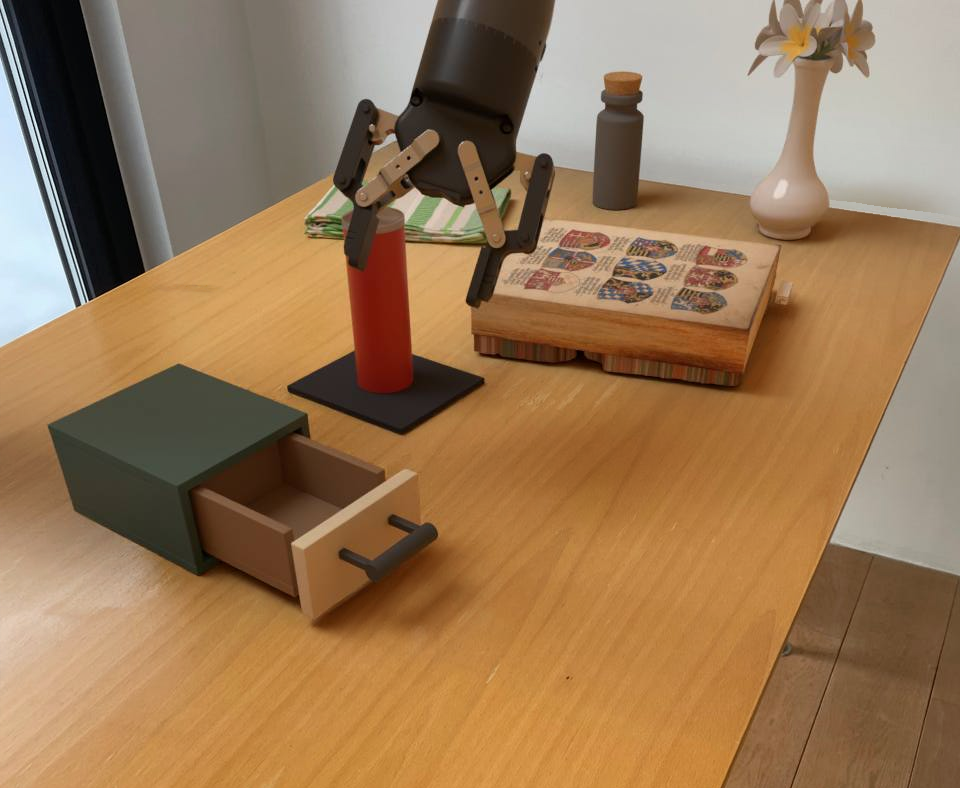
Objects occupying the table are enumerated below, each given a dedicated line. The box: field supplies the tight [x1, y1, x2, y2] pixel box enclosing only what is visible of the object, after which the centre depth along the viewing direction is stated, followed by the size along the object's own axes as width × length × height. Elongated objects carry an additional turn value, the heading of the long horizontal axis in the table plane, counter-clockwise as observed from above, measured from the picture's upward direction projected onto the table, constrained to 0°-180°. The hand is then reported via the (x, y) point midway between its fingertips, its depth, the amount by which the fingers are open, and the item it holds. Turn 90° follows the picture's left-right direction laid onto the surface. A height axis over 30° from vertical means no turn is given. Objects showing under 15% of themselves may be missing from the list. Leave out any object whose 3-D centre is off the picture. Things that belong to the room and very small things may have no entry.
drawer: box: [188, 432, 439, 620], centre depth 74 cm, size 17×11×6 cm, turn 53°
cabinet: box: [46, 362, 312, 576], centre depth 80 cm, size 15×13×8 cm
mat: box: [286, 349, 485, 436], centre depth 97 cm, size 14×12×1 cm
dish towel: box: [303, 179, 512, 245], centre depth 132 cm, size 18×23×3 cm
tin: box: [341, 207, 414, 394], centre depth 92 cm, size 5×5×15 cm
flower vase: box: [747, 0, 876, 241], centre depth 120 cm, size 13×18×25 cm
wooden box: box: [470, 217, 794, 387], centre depth 106 cm, size 25×6×28 cm
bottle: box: [592, 71, 645, 211], centre depth 132 cm, size 6×6×15 cm
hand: (413, 287), depth 72 cm, fingers open, 8 cm apart
